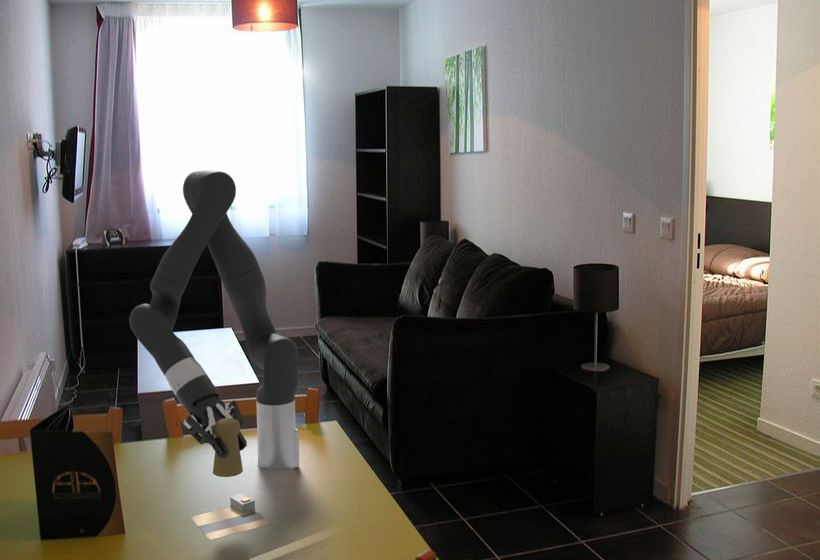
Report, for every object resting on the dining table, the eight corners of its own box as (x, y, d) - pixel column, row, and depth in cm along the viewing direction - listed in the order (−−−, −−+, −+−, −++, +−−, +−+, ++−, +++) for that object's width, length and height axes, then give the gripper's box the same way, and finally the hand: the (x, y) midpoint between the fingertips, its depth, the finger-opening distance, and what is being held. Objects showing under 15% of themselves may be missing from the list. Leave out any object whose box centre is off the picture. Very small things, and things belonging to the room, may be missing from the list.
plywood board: (249, 508, 182) (248, 502, 181) (270, 529, 172) (270, 524, 171) (190, 522, 175) (190, 516, 174) (209, 545, 165) (209, 539, 165)
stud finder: (242, 501, 182) (242, 491, 182) (254, 509, 178) (254, 499, 178) (230, 505, 180) (230, 495, 180) (242, 513, 176) (242, 503, 176)
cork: (248, 468, 172) (247, 417, 170) (232, 478, 166) (232, 426, 165) (222, 464, 174) (222, 413, 172) (206, 474, 168) (205, 422, 167)
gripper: (172, 382, 165) (217, 453, 161) (225, 366, 177) (268, 432, 173) (155, 403, 169) (199, 473, 165) (208, 386, 181) (250, 451, 176)
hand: (234, 451), depth 169 cm, fingers closed on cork, 4 cm apart
